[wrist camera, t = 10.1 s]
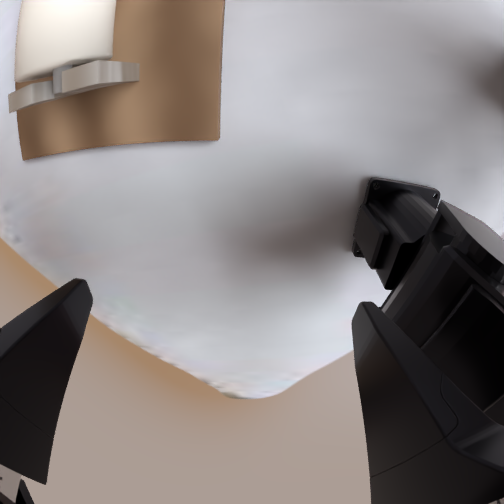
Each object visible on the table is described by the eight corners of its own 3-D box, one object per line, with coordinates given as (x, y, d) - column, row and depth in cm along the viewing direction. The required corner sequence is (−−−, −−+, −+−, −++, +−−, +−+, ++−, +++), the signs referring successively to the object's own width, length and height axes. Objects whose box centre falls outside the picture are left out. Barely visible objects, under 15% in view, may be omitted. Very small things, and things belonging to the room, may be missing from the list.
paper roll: (142, -57, 7) (103, -92, 2) (129, 78, 13) (72, 83, 8) (67, -30, 7) (17, -44, 2) (57, 96, 13) (-4, 113, 8)
